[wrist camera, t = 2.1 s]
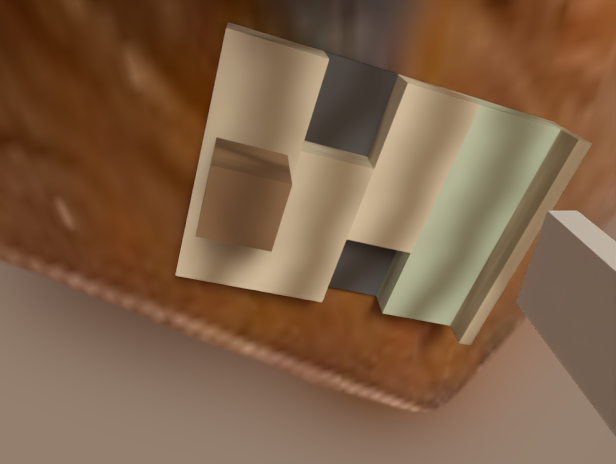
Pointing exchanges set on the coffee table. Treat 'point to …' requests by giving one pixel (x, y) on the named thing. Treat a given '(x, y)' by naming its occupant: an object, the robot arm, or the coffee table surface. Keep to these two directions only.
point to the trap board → (379, 183)
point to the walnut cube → (244, 195)
